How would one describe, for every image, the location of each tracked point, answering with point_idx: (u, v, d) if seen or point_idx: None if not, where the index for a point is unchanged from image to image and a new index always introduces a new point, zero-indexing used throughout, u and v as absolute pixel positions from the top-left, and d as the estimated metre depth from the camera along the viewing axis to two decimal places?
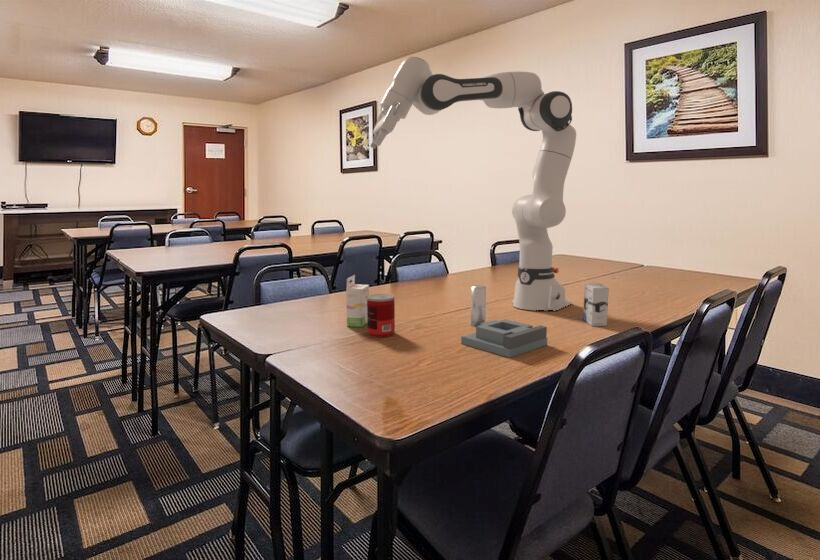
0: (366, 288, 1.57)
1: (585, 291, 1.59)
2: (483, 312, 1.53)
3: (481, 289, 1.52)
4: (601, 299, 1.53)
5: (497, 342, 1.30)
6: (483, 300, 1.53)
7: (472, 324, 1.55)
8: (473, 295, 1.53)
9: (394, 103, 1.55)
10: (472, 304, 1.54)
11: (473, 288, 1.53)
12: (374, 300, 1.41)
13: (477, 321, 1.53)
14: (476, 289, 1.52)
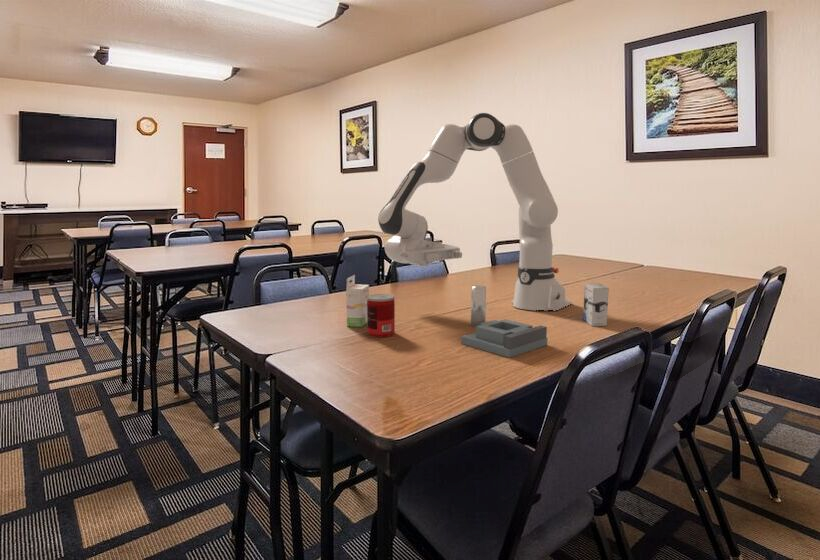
0: (366, 288, 1.57)
1: (585, 291, 1.59)
2: (483, 312, 1.53)
3: (481, 289, 1.52)
4: (601, 299, 1.53)
5: (497, 342, 1.30)
6: (483, 300, 1.53)
7: (472, 324, 1.55)
8: (473, 295, 1.53)
9: None
10: (472, 304, 1.54)
11: (473, 288, 1.53)
12: (374, 300, 1.41)
13: (477, 321, 1.53)
14: (476, 289, 1.52)
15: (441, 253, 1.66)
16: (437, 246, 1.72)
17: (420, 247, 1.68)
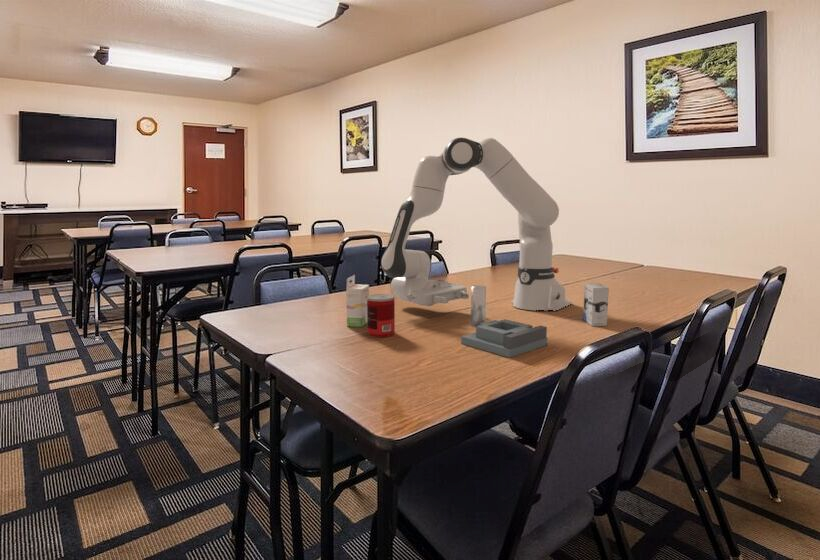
0: (366, 288, 1.57)
1: (585, 291, 1.59)
2: (483, 312, 1.53)
3: (481, 289, 1.52)
4: (601, 299, 1.53)
5: (497, 342, 1.30)
6: (483, 300, 1.53)
7: (472, 324, 1.55)
8: (473, 295, 1.53)
9: None
10: (472, 304, 1.54)
11: (473, 288, 1.53)
12: (374, 300, 1.41)
13: (477, 321, 1.53)
14: (476, 289, 1.52)
15: (448, 294, 1.66)
16: (444, 285, 1.72)
17: (427, 287, 1.68)
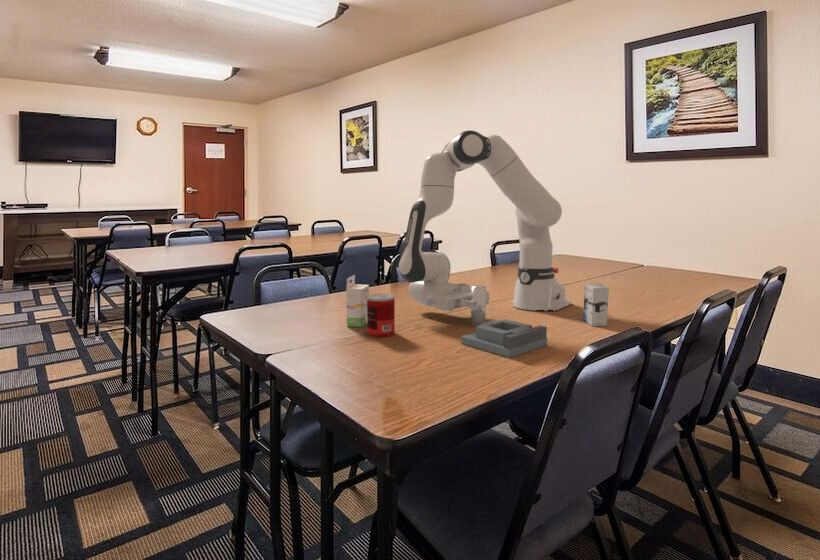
0: (366, 288, 1.57)
1: (585, 291, 1.59)
2: (483, 312, 1.53)
3: (481, 289, 1.52)
4: (601, 299, 1.53)
5: (497, 342, 1.30)
6: (483, 300, 1.53)
7: (472, 324, 1.55)
8: (473, 295, 1.53)
9: None
10: None
11: (473, 288, 1.53)
12: (374, 300, 1.41)
13: (477, 321, 1.53)
14: (476, 289, 1.52)
15: (470, 298, 1.59)
16: (465, 289, 1.64)
17: (448, 291, 1.61)
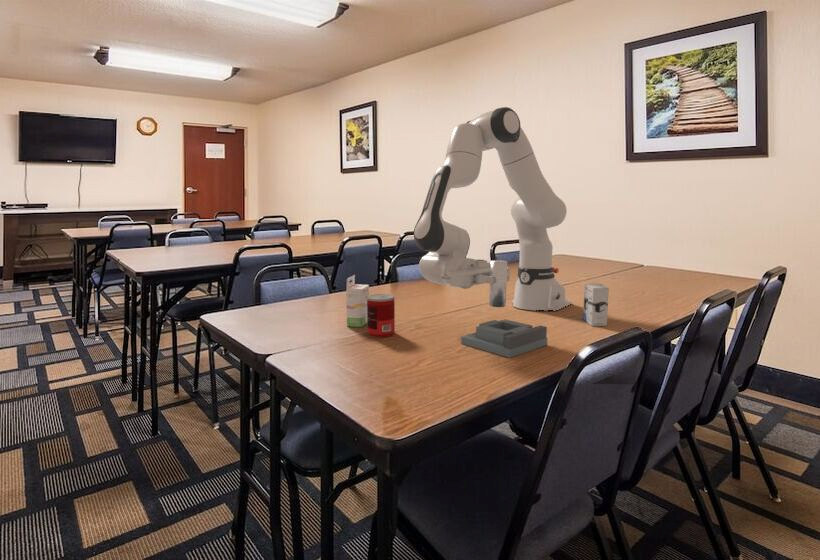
0: (366, 288, 1.57)
1: (585, 291, 1.59)
2: (504, 290, 1.35)
3: (502, 264, 1.34)
4: (601, 299, 1.53)
5: (497, 342, 1.30)
6: (504, 276, 1.34)
7: (491, 304, 1.36)
8: (492, 271, 1.35)
9: None
10: None
11: (493, 263, 1.34)
12: (374, 300, 1.41)
13: (497, 301, 1.35)
14: (496, 264, 1.34)
15: (489, 274, 1.41)
16: (483, 265, 1.46)
17: (463, 267, 1.42)
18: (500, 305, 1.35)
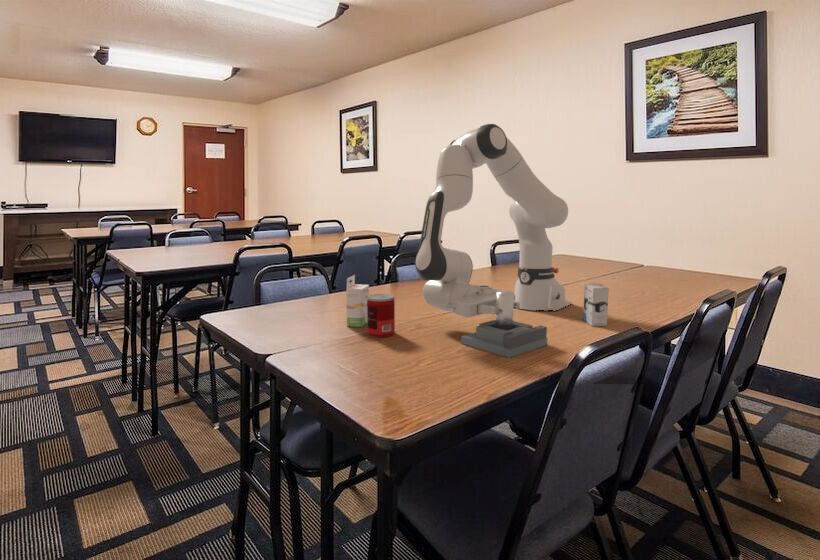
0: (366, 288, 1.57)
1: (585, 291, 1.59)
2: (510, 322, 1.33)
3: (508, 296, 1.32)
4: (601, 299, 1.53)
5: (497, 342, 1.30)
6: (510, 308, 1.32)
7: None
8: (499, 302, 1.33)
9: None
10: (497, 313, 1.34)
11: (499, 294, 1.32)
12: (374, 300, 1.41)
13: None
14: (502, 296, 1.32)
15: (495, 302, 1.38)
16: (488, 292, 1.44)
17: (469, 295, 1.40)
18: None
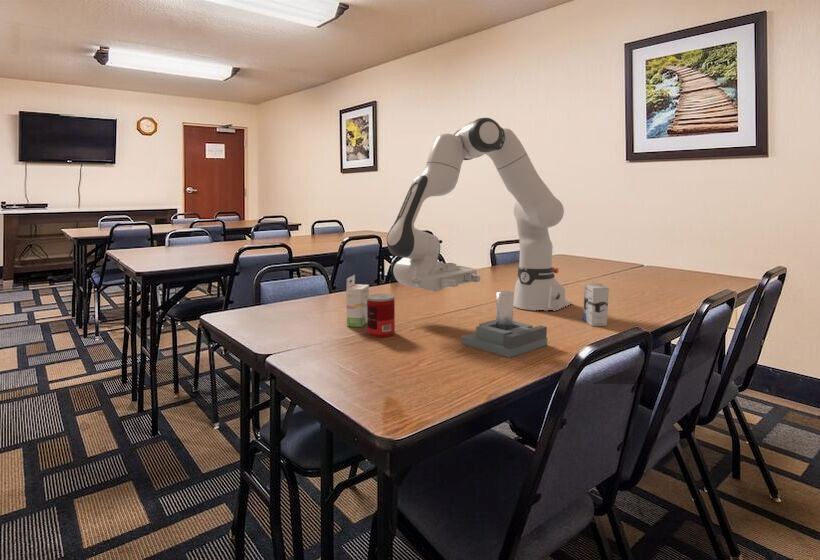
0: (366, 288, 1.57)
1: (585, 291, 1.59)
2: (510, 322, 1.33)
3: (508, 296, 1.32)
4: (601, 299, 1.53)
5: (497, 342, 1.30)
6: (510, 308, 1.32)
7: None
8: (499, 302, 1.33)
9: None
10: (497, 313, 1.34)
11: (499, 294, 1.32)
12: (374, 300, 1.41)
13: None
14: (502, 296, 1.32)
15: (457, 277, 1.51)
16: (452, 268, 1.56)
17: (433, 271, 1.52)
18: None
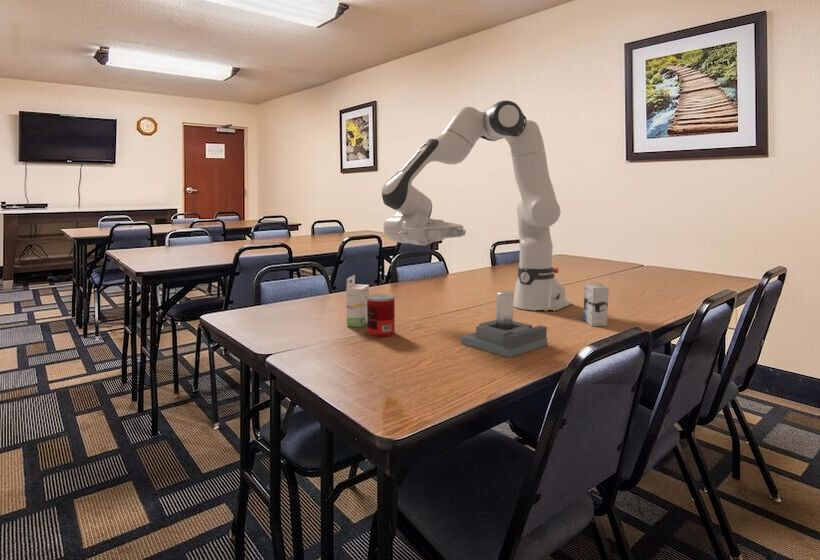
0: (366, 288, 1.57)
1: (585, 291, 1.59)
2: (510, 322, 1.33)
3: (508, 296, 1.32)
4: (601, 299, 1.53)
5: (497, 342, 1.30)
6: (510, 308, 1.32)
7: None
8: (499, 302, 1.33)
9: None
10: (497, 313, 1.34)
11: (499, 294, 1.32)
12: (374, 300, 1.41)
13: None
14: (502, 296, 1.32)
15: (443, 230, 1.56)
16: (439, 224, 1.62)
17: (421, 224, 1.58)
18: None
